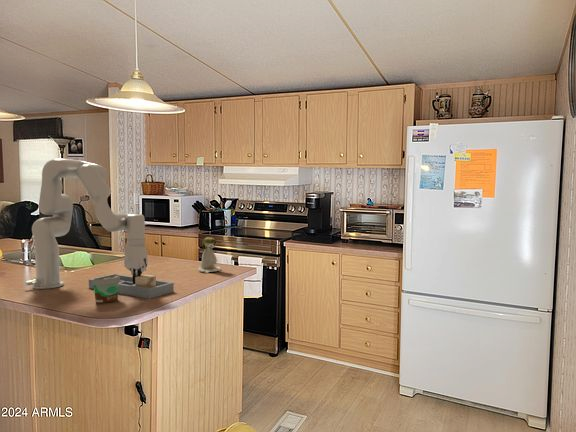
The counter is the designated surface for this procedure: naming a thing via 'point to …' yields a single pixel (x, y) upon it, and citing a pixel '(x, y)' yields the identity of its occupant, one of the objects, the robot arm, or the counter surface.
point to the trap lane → (130, 288)
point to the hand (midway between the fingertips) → (136, 283)
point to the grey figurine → (209, 256)
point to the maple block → (145, 281)
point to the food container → (106, 289)
